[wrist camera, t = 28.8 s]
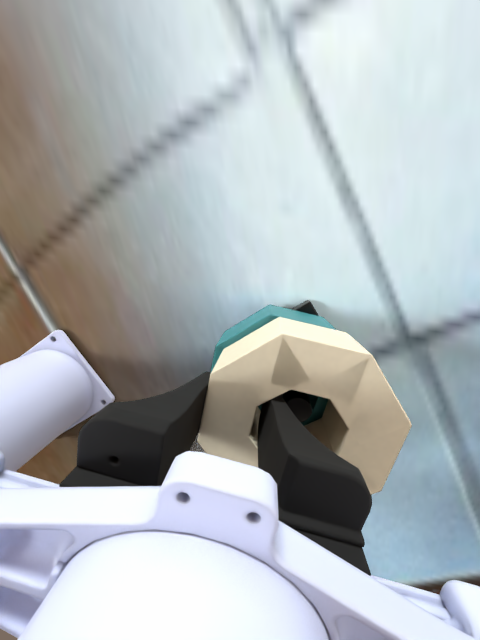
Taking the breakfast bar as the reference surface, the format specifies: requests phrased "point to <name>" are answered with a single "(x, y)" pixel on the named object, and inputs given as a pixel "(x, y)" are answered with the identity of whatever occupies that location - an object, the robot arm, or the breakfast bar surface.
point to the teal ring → (262, 319)
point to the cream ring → (312, 378)
